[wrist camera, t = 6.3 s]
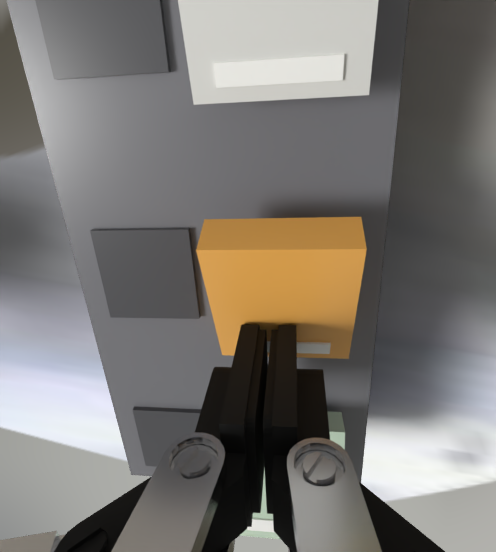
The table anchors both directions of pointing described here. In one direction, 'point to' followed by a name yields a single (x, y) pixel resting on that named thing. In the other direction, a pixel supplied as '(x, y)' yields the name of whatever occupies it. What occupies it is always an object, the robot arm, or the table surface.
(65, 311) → the table surface
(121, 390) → the power strip
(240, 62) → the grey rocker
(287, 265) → the orange white-striped slab
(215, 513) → the robot arm
